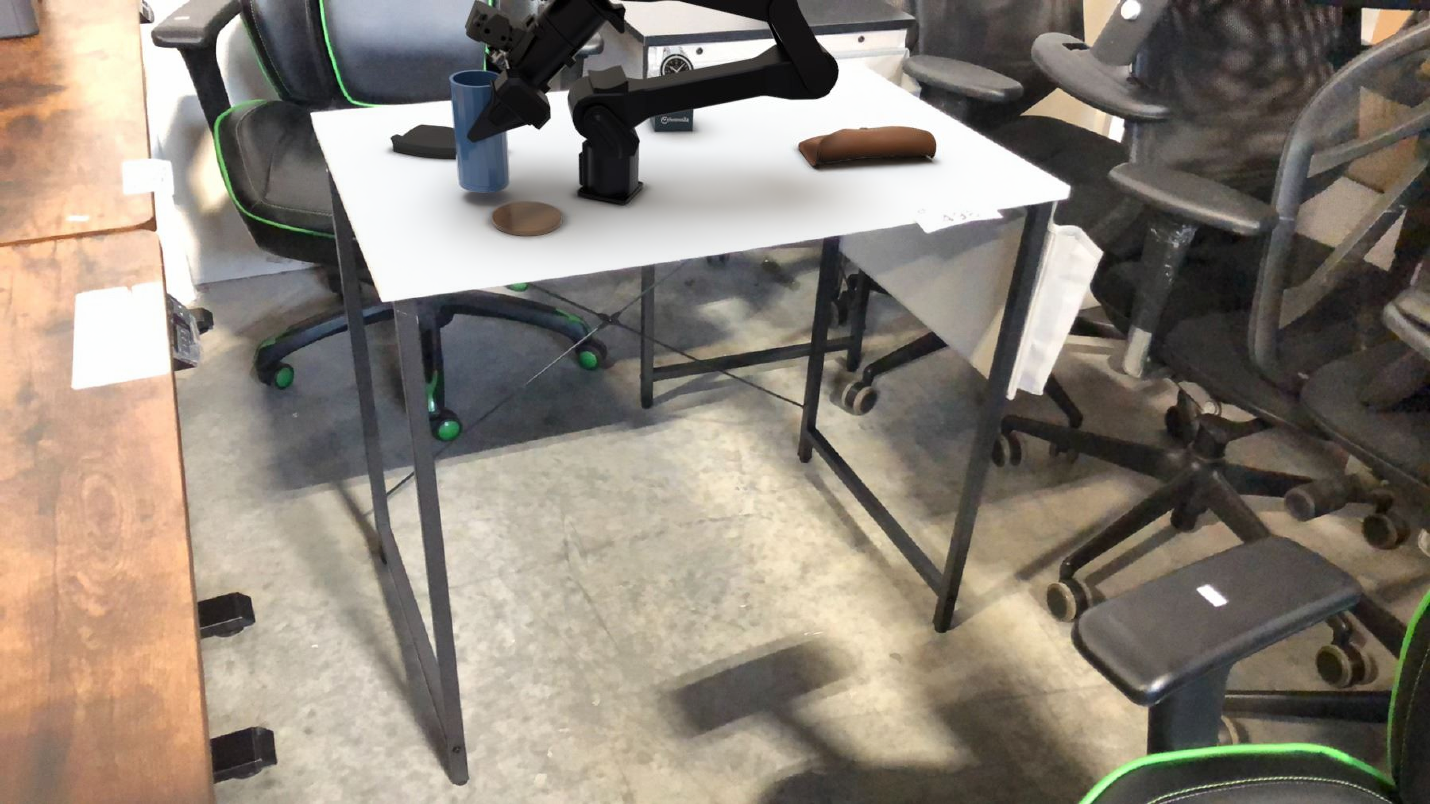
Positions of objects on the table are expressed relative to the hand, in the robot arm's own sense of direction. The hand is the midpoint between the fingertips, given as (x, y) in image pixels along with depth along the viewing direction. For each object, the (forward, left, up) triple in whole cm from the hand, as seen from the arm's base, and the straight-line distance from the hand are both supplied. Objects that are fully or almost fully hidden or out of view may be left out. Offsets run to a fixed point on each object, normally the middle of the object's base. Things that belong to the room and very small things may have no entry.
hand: (468, 129), depth 115 cm
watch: (-13, -34, -9) cm, 37 cm away
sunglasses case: (-41, -36, -9) cm, 55 cm away
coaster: (-9, +3, -8) cm, 12 cm away
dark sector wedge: (+11, -12, -9) cm, 18 cm away
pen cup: (-1, -1, -7) cm, 7 cm away
